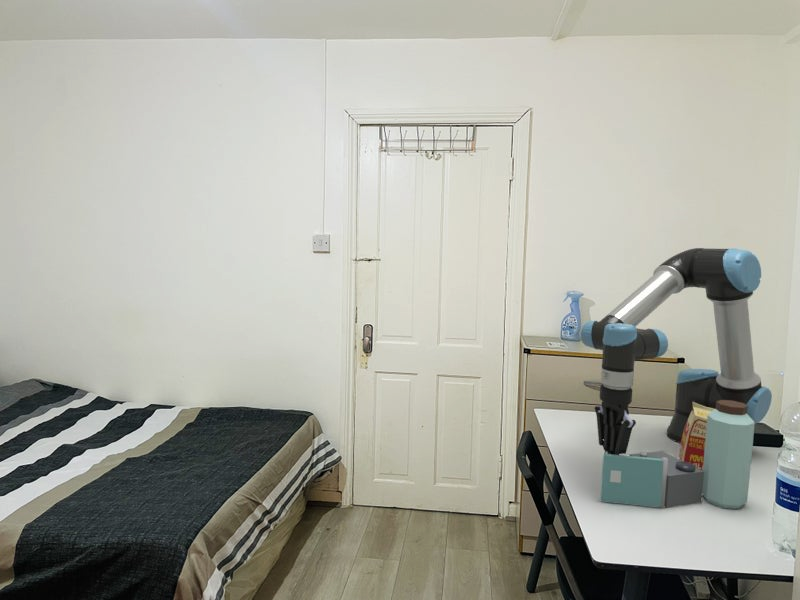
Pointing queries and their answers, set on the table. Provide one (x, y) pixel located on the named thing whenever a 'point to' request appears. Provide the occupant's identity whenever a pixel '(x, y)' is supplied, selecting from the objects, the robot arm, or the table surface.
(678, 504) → the camera body
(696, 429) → the milk carton
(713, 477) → the water bottle
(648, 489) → the side door
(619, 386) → the robot arm
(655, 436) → the table surface
